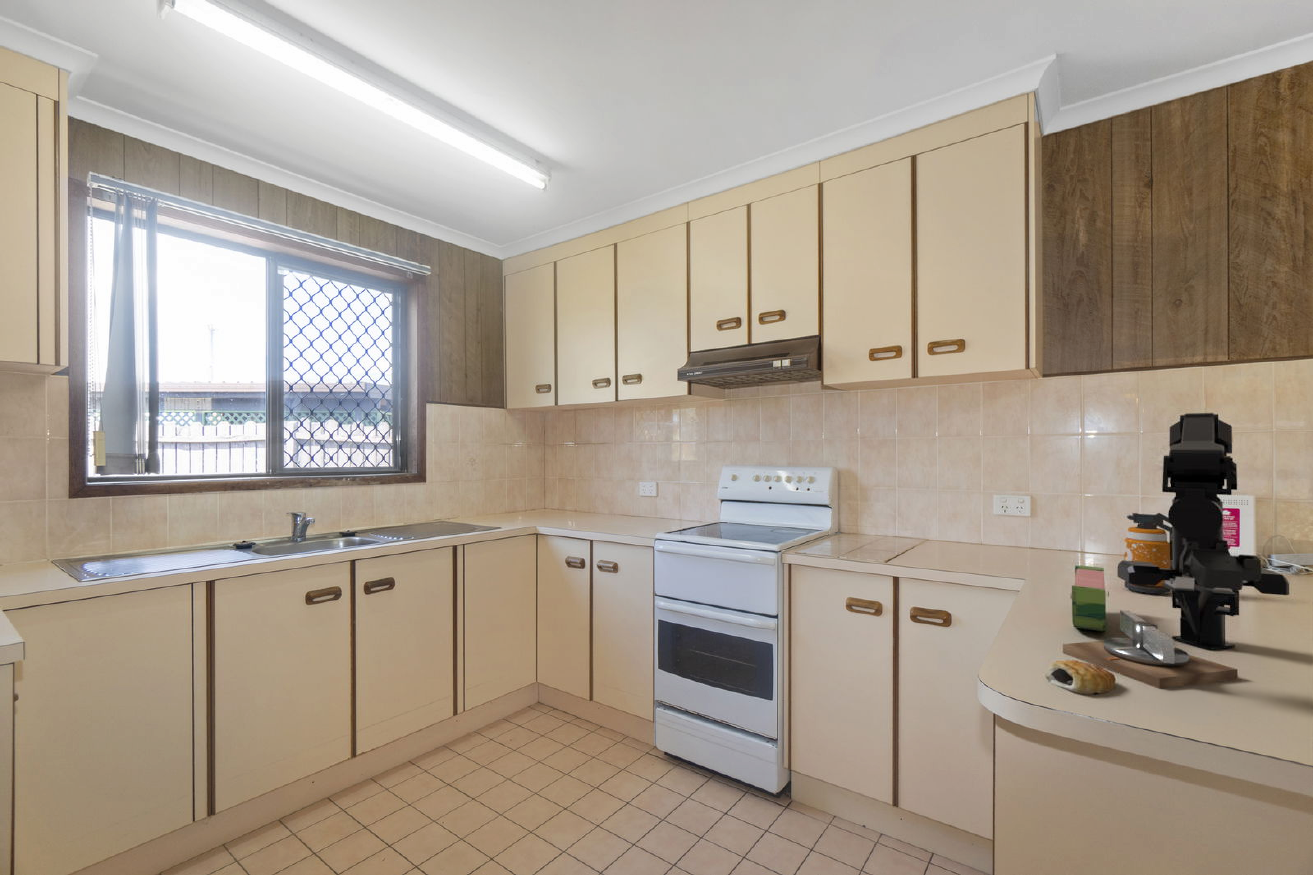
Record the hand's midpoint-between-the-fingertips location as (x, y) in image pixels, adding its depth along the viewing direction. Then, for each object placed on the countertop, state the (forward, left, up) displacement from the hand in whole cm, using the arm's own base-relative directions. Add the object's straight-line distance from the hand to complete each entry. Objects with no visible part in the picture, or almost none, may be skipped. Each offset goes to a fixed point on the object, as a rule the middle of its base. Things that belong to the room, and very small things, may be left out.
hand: (1198, 633), depth 90 cm
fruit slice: (-14, -29, -8) cm, 33 cm away
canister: (-56, -48, -8) cm, 74 cm away
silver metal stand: (-1, -9, -6) cm, 11 cm away
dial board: (-1, -9, -8) cm, 12 cm away
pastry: (+17, -5, -8) cm, 20 cm away
